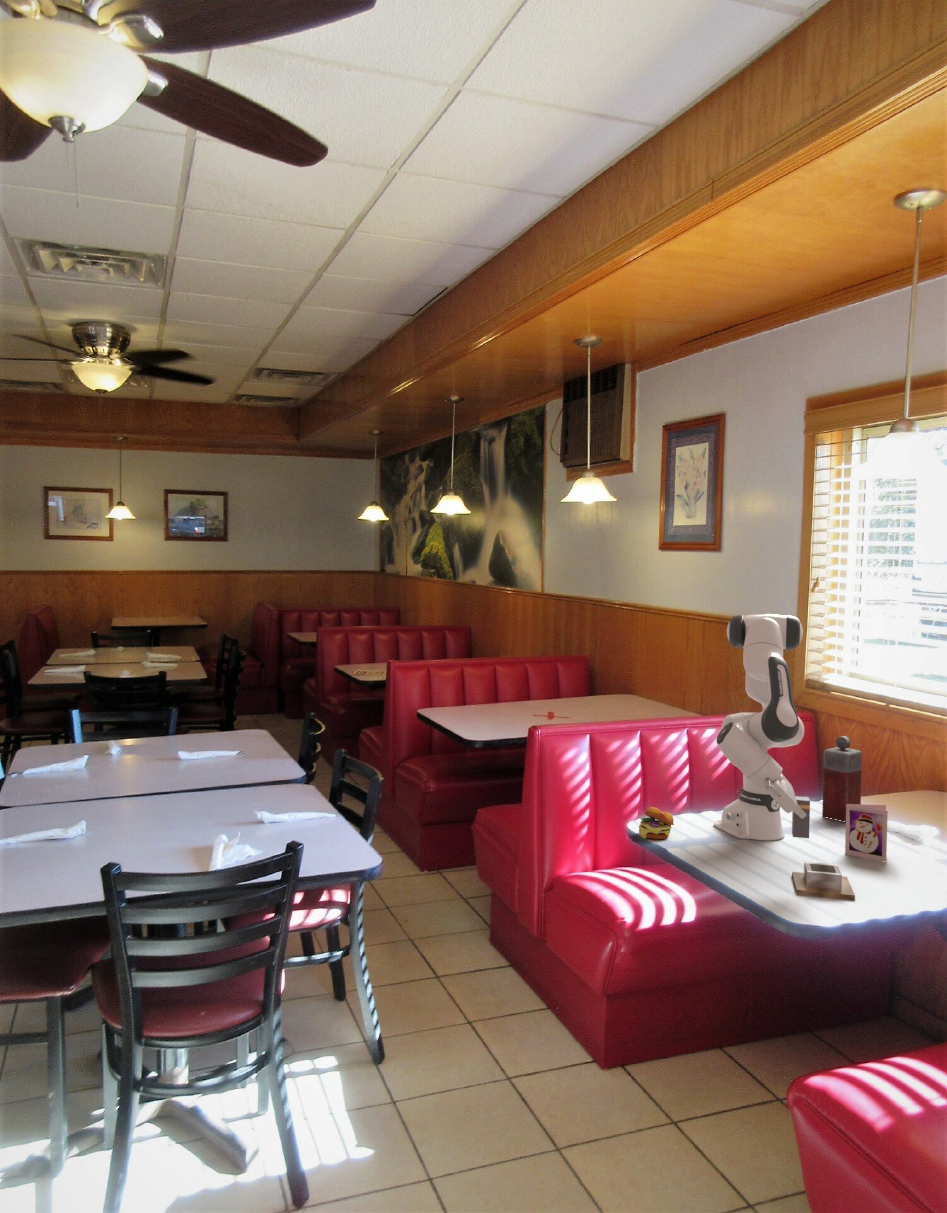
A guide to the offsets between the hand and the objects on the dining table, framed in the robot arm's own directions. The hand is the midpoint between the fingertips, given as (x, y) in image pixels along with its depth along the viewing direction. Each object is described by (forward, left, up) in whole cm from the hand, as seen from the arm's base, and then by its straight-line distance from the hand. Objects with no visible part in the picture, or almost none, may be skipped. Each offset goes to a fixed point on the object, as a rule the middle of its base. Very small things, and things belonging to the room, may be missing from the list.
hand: (803, 813), depth 232 cm
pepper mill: (-37, +65, -19) cm, 78 cm away
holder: (+4, +3, -19) cm, 20 cm away
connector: (0, 0, -6) cm, 6 cm away
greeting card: (-7, +37, -20) cm, 43 cm away
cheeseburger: (-52, -5, -20) cm, 56 cm away
